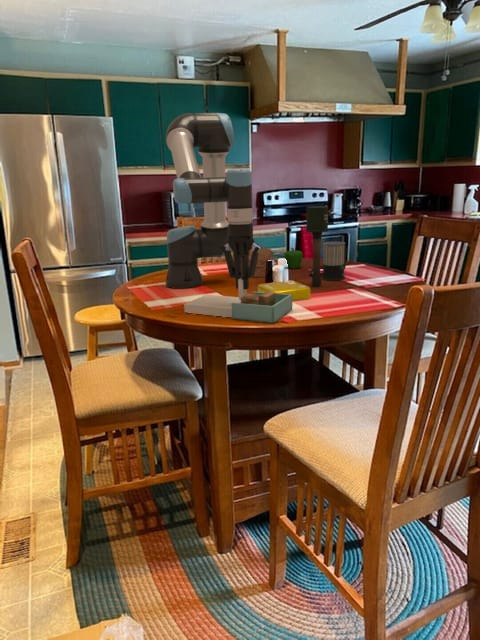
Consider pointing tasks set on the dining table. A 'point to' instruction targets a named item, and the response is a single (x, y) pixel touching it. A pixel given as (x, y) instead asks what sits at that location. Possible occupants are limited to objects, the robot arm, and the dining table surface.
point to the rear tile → (250, 299)
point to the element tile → (287, 289)
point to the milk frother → (333, 261)
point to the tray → (263, 309)
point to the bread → (260, 261)
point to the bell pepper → (293, 258)
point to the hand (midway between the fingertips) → (242, 299)
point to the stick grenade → (317, 236)
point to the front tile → (267, 299)
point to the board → (212, 305)
